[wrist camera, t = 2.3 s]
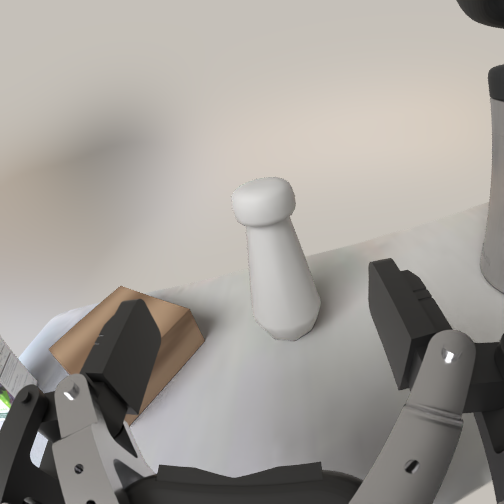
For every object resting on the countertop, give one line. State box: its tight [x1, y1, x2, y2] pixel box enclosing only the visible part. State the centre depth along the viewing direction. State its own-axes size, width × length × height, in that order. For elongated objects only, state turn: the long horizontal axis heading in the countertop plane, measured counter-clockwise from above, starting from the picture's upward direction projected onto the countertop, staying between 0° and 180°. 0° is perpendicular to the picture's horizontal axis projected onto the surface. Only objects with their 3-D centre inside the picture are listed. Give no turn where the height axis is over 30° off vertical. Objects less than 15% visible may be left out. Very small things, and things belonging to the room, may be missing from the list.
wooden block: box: [49, 286, 205, 426], centre depth 25 cm, size 11×11×4 cm
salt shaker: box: [231, 177, 321, 341], centre depth 23 cm, size 6×6×13 cm
